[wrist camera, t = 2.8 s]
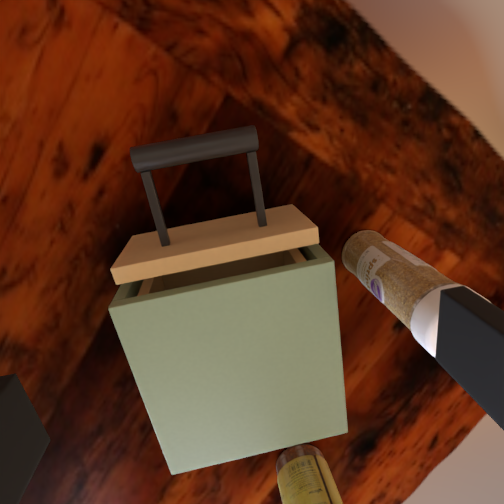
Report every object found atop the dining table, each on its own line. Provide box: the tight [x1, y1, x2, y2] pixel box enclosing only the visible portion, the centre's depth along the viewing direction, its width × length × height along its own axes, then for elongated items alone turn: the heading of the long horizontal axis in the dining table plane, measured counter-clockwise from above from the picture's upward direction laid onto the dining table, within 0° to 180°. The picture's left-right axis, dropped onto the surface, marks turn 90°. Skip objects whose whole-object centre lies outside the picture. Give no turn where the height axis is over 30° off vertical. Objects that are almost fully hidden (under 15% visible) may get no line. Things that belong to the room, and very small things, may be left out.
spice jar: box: [342, 230, 491, 357], centre depth 25 cm, size 5×5×13 cm
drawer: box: [110, 125, 319, 296], centre depth 26 cm, size 21×14×7 cm, turn 9°
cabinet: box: [108, 244, 348, 475], centre depth 28 cm, size 16×15×9 cm
